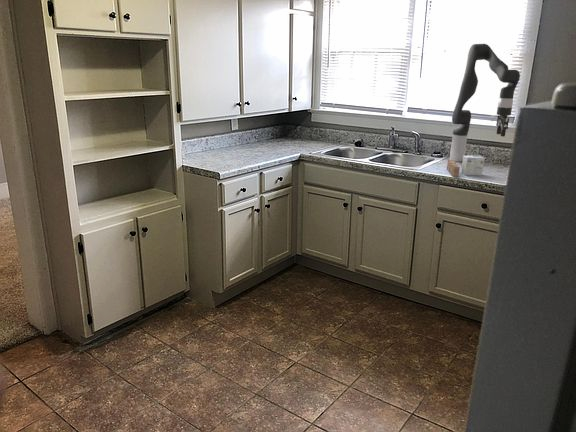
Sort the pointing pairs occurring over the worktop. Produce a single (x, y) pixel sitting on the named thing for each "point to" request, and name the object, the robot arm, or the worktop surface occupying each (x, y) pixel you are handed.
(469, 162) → the light bulb box
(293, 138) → the worktop surface
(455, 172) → the orange brown stepped block
